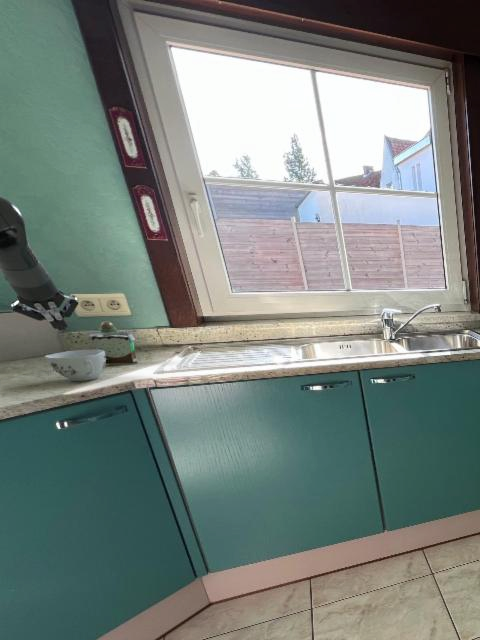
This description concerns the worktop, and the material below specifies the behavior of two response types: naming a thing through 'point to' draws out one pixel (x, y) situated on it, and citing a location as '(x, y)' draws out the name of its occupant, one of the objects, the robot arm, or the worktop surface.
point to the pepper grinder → (107, 327)
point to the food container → (115, 347)
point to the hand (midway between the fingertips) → (61, 328)
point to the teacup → (78, 364)
